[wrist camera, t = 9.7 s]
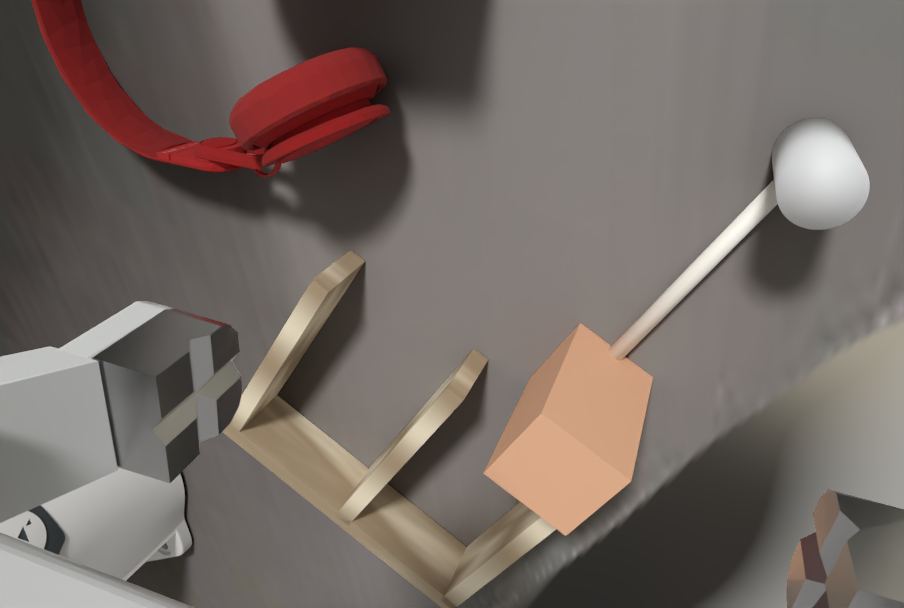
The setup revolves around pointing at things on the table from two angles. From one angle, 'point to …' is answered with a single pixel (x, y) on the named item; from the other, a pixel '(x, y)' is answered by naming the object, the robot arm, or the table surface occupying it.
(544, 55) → the table surface
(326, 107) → the headphones
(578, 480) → the block
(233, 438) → the lane shelf
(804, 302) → the table surface
